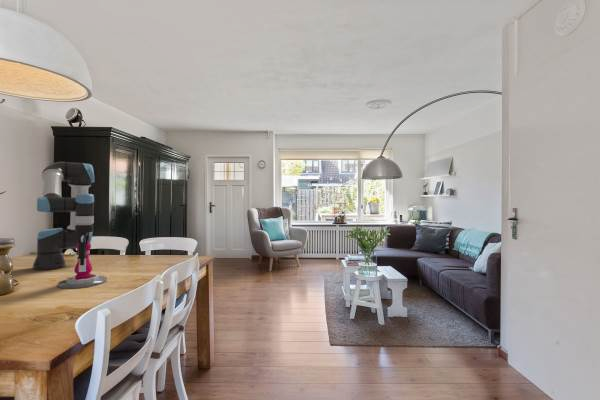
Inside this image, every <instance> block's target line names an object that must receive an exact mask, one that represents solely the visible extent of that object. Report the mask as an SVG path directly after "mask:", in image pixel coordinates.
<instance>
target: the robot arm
mask: <svg viewBox="0 0 600 400" xmlns="http://www.w3.org/2000/svg"><path fill="white" fill-rule="evenodd" d="M41 180H42V181H43V188H42V190H43V191H42V196H38V197H37V199H36V211H37V212H39V213H70V223H69V225H68V226H67V227H66V229H64V228H63V227H57V228H49V229H43V230H40V231H38V233H37V237H36V240H37V244H36V249H37V250H36V257H35V259H34V261H33V263H32V270H35V271H44V270H46V271H47V270H54V269H55V270H56V269H60V268H64V267H66V260H65V258H64V255H63V250H65V249H66V250H67V249H69V250H70V249H77V248H76V246H77V244H78V243H79V255H78V254H77V255H78V256H77V258H76V259H77V260H78V259H79V272H86V257H85V256H86V245H87V244H88V242H89V243H90V244H91V243H92V239H93V232H94V223H95V216H94V211H95V210H94V209H95V195H94V194H92V193H89V188H90V187H91V186H92V183H95V171H94V167H93V165H92V164H90V163H84V162H70V161H57V162H54V163H51V164H49V165H47V166H46V167H44V169H43V170H42V172H41ZM62 182H68V184H67V185H68V186H70V188H71V189H70V190H71V192H70V195H71V196H70V197H66V196H64V197H62ZM91 245H92V244H91ZM90 255H91V253H89V256H90Z"/></svg>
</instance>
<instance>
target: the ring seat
mask: <svg viewBox="0 0 600 400" xmlns="http://www.w3.org/2000/svg"><path fill="white" fill-rule="evenodd" d="M76 275H77V274H76ZM76 275H71V276H69V277H67V278H66V279H63V280H61V281H59V282H58V283H57V287H58V288H60V289H64V288H65V289H66V290H69V289H70V290H71V289H72V290H73V289H74V290H75V289H84V288H90V287H96V286H99V285H102V284H105V283H106V282H107V281H108V278H107V276H104V275H100V274H99V273H91V277H90V278H88V279H80V280H78V279H76Z"/></svg>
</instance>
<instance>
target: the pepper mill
mask: <svg viewBox="0 0 600 400" xmlns="http://www.w3.org/2000/svg"><path fill="white" fill-rule="evenodd" d="M75 249H76V250H77V255H79V243H78V244H77V246H76V248H75ZM91 249H92V244H90V243H89V242H88V244H87V245H86V256H85V257H86V272H79V259H77V262H76V264H75V267H74V270H73V271H74V273H75V274H76V279H78V280H80V279H88V278H90V277H91V274H92V273H91V272H92V271H93V266H92V263H91V261H90V255H89V253H90V250H91ZM90 254H91V253H90Z"/></svg>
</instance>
